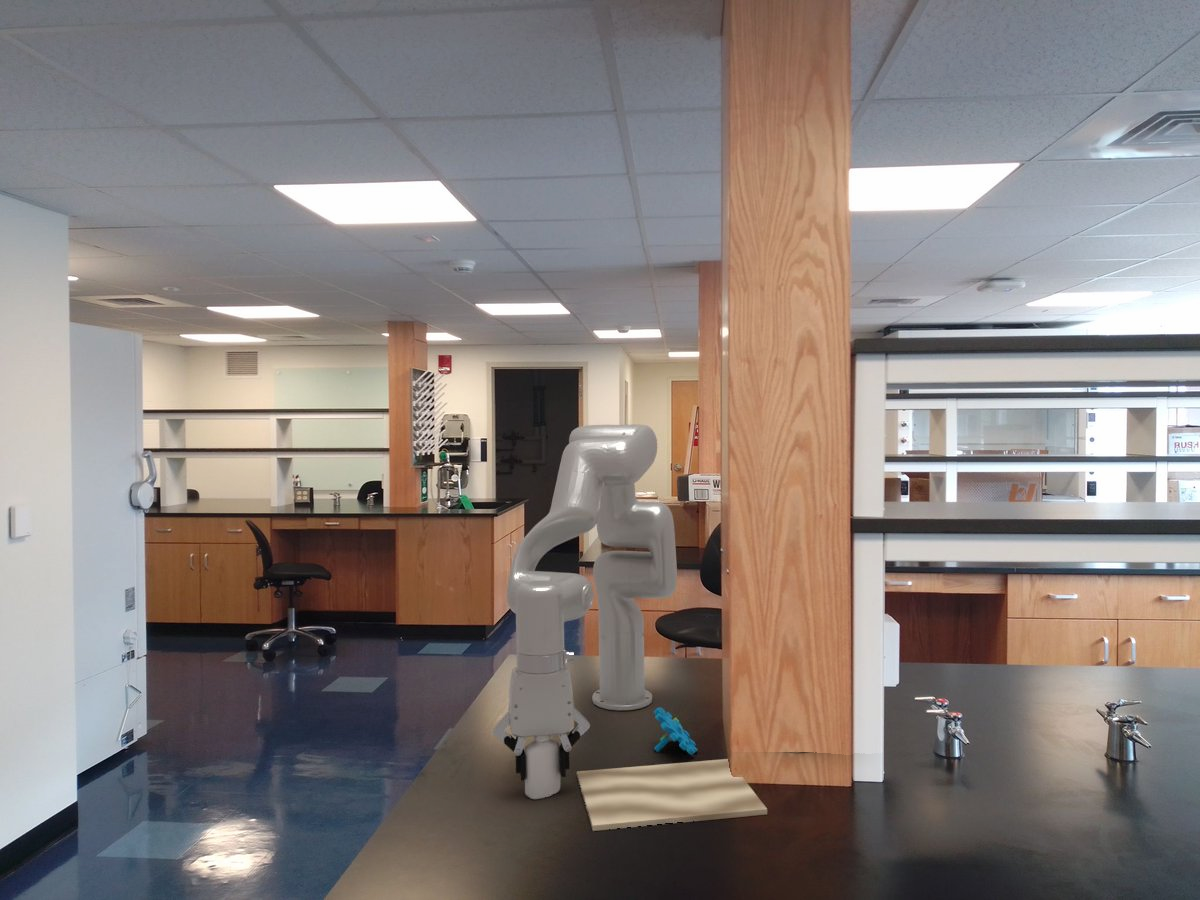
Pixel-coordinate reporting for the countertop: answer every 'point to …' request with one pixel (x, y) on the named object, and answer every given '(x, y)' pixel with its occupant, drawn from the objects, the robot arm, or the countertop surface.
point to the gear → (673, 732)
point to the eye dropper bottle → (542, 767)
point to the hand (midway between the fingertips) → (542, 774)
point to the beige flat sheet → (666, 794)
